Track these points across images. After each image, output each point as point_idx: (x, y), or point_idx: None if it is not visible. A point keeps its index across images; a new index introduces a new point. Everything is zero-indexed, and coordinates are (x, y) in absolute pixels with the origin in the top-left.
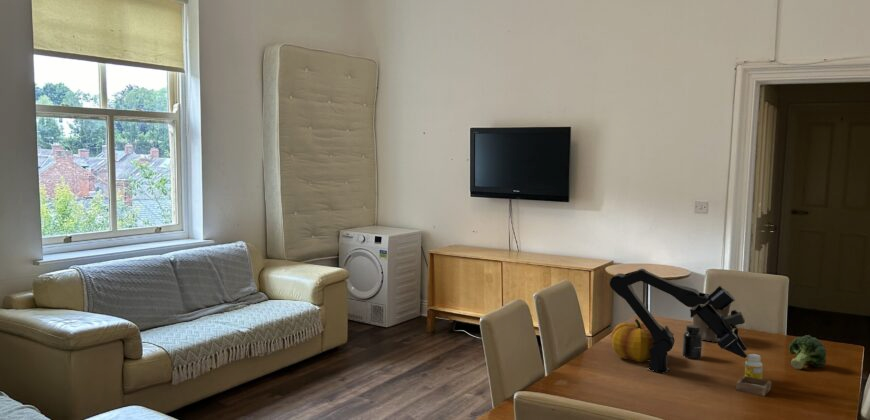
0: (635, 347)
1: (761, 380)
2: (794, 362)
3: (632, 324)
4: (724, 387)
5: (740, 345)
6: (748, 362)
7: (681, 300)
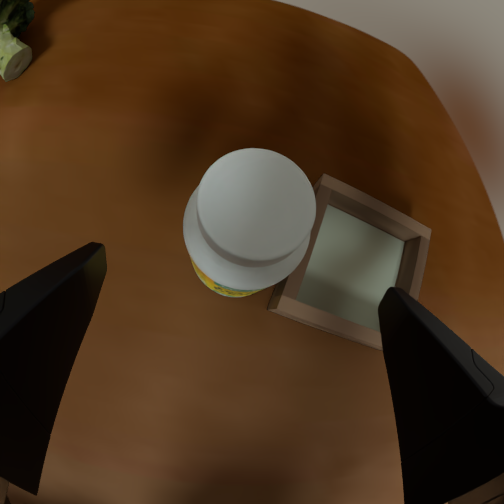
0: None
1: (322, 218)
2: (13, 63)
3: None
4: (353, 399)
5: (73, 312)
6: (284, 268)
7: None
